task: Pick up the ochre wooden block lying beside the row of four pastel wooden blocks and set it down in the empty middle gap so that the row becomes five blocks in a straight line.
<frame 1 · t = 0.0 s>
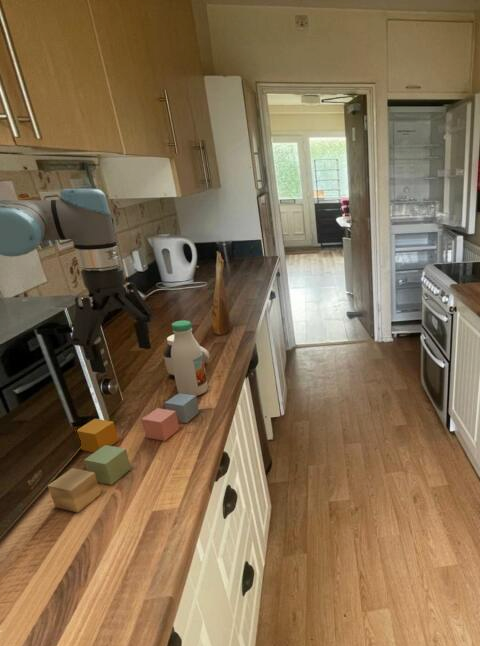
hand: (123, 359, 98), 16 cm above the table, tool pointing down, fingers open, 13 cm apart
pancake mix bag: (224, 328, 164), on the table
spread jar: (190, 370, 130), on the table
sage block: (111, 474, 86), on the table
blue-grey block: (184, 416, 106), on the table
dusty pink block: (163, 433, 99), on the table
ochre block: (100, 445, 95), on the table
birch block: (78, 500, 79), on the table
milk bottle: (193, 391, 118), on the table
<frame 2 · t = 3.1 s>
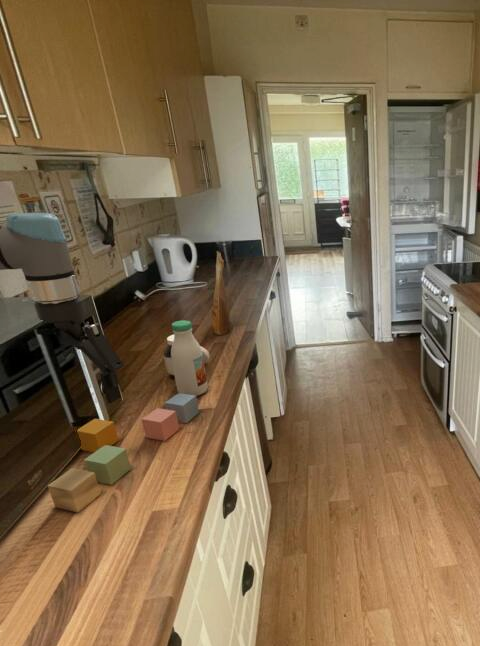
hand: (87, 396, 90), 12 cm above the table, tool pointing down, fingers open, 13 cm apart
nothing on the table moved.
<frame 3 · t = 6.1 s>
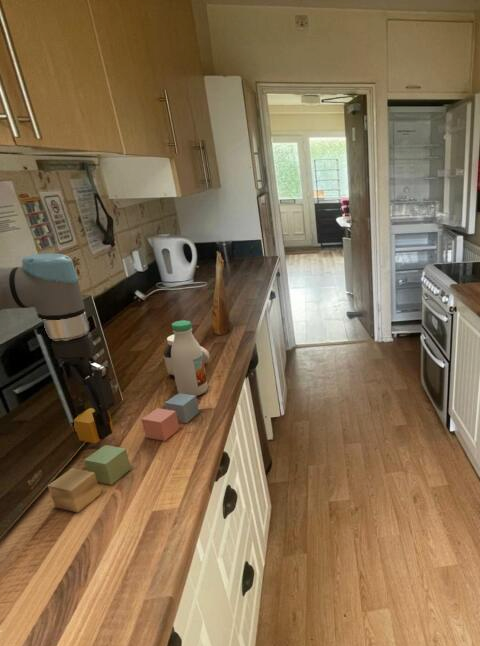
hand: (94, 433, 93), 3 cm above the table, tool pointing down, fingers closed on ochre block, 5 cm apart
ochre block: (95, 435, 93), point 3 cm above the table, touching gripper
everything else where it was.
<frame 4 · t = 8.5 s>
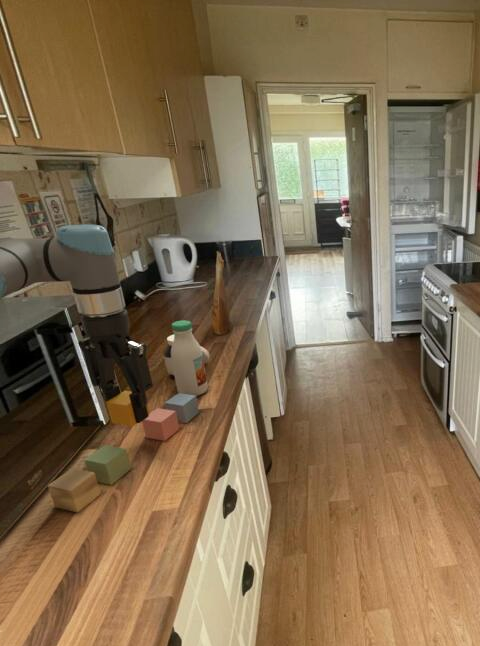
hand: (130, 417, 89), 9 cm above the table, tool pointing down, fingers closed on ochre block, 5 cm apart
ochre block: (131, 418, 89), point 9 cm above the table, touching gripper
everything else where it was.
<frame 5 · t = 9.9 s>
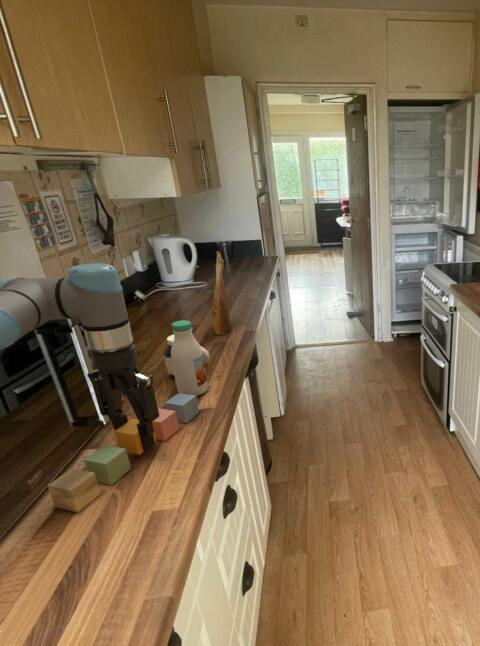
hand: (137, 445, 92), 2 cm above the table, tool pointing down, fingers closed on ochre block, 5 cm apart
ochre block: (138, 446, 92), point 2 cm above the table, touching gripper
everything else where it was.
when the fingers open (0 cm above the table, at t = 10.8 s): ochre block stays where it is, on the table.
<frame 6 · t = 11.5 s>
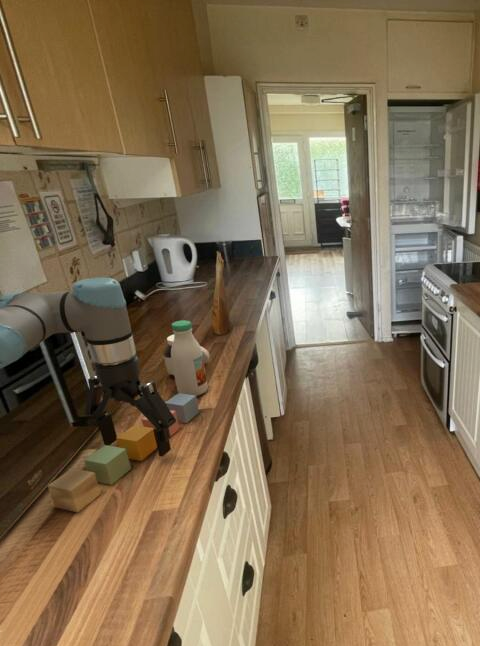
hand: (137, 447, 92), 1 cm above the table, tool pointing down, fingers open, 13 cm apart
ochre block: (140, 452, 93), on the table
everything else where it was.
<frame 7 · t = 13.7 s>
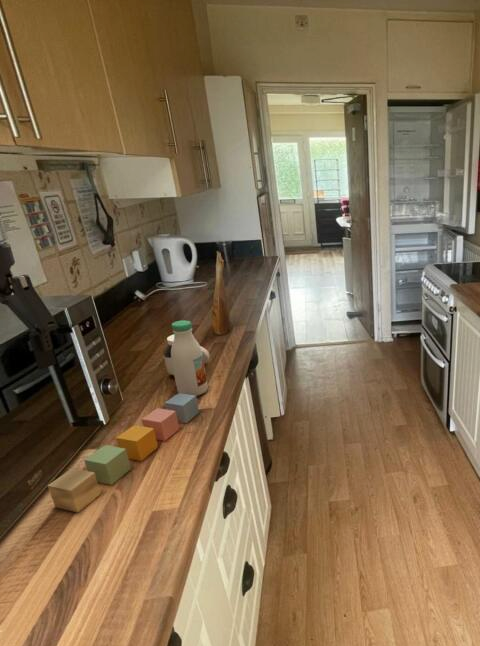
hand: (16, 361, 78), 24 cm above the table, tool pointing down, fingers open, 13 cm apart
nothing on the table moved.
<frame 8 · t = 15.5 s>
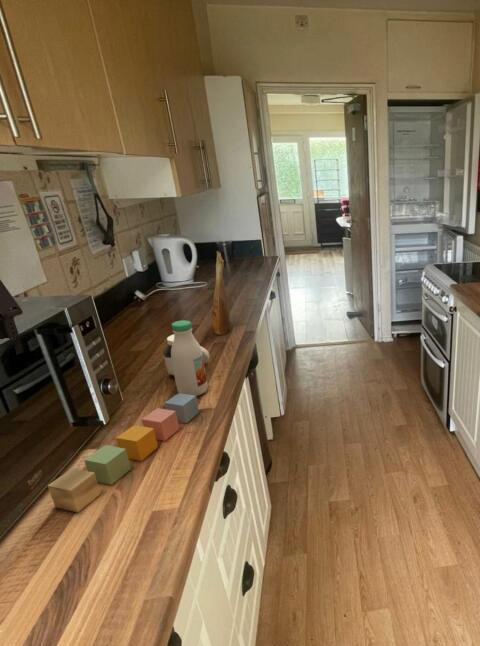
nothing on the table moved.
at the end: ochre block 0.2 cm from the target spot, on the table; ochre block tilted 0°; sage block moved 0.0 cm from its start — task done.
